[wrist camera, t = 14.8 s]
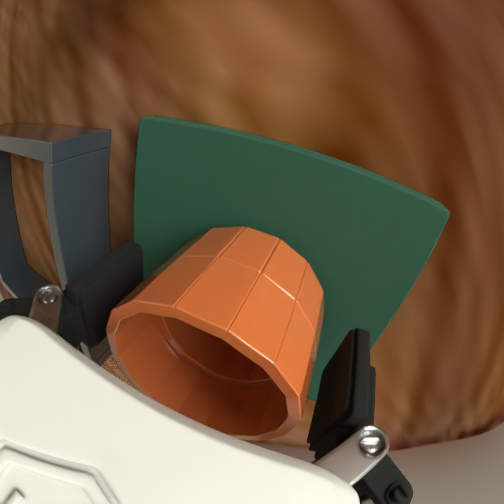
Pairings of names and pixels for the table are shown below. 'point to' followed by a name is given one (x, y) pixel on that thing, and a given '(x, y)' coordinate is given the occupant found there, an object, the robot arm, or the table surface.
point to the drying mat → (287, 216)
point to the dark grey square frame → (58, 205)
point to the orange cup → (225, 333)
